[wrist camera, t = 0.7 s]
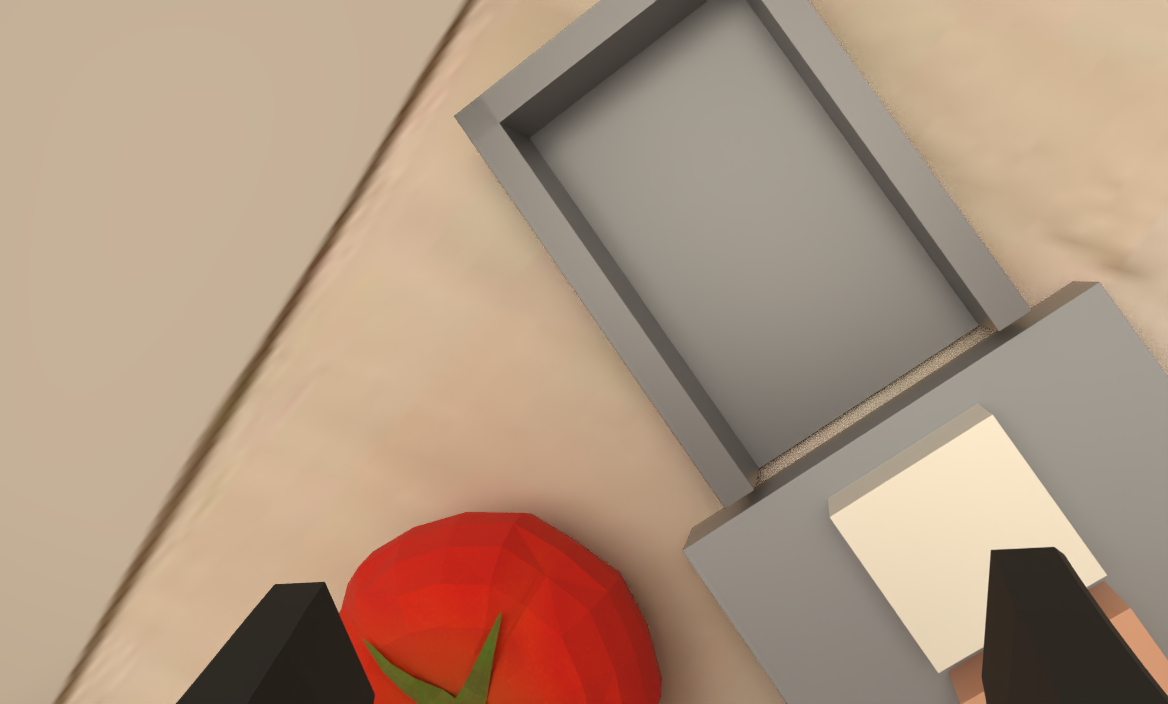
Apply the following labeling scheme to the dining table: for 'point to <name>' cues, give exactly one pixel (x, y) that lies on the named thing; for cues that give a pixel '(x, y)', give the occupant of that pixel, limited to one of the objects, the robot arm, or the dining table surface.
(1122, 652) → the robot arm
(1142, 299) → the dining table surface
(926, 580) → the tile cream
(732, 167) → the box
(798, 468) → the slate board
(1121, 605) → the tile terracotta
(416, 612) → the tomato
